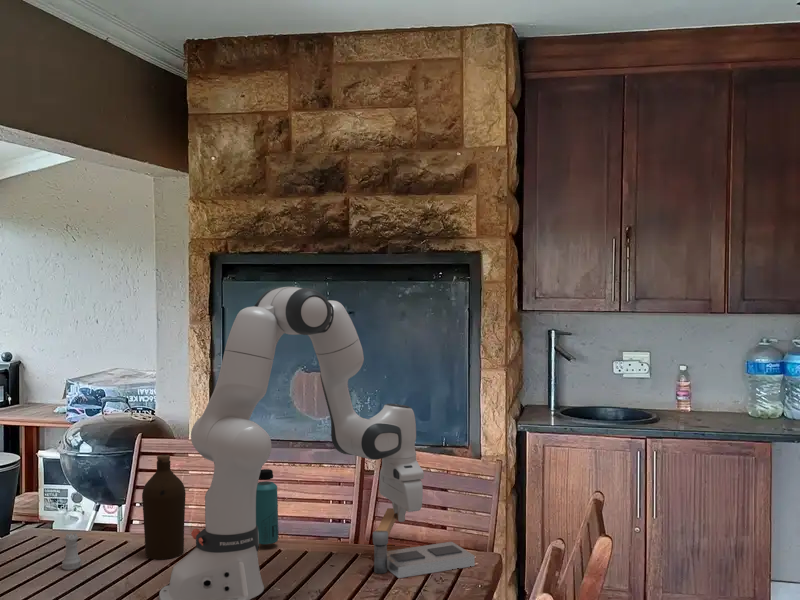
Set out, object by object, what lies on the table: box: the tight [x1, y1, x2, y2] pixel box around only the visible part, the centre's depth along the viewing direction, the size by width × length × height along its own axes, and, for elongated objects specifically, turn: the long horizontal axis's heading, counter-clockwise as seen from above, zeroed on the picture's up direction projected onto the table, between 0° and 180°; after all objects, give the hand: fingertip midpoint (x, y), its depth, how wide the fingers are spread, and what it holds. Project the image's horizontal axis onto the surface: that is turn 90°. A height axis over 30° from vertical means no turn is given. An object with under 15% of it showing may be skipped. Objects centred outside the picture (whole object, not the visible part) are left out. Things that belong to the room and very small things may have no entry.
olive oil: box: [141, 454, 186, 561], centre depth 208 cm, size 11×11×25 cm
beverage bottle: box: [256, 468, 280, 545], centre depth 214 cm, size 6×7×20 cm
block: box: [373, 541, 475, 579], centre depth 198 cm, size 24×12×6 cm, turn 114°
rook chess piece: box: [61, 532, 82, 571], centre depth 199 cm, size 4×4×8 cm
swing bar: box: [372, 507, 397, 545], centre depth 204 cm, size 23×4×2 cm, turn 173°
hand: (399, 520), depth 210 cm, fingers closed
